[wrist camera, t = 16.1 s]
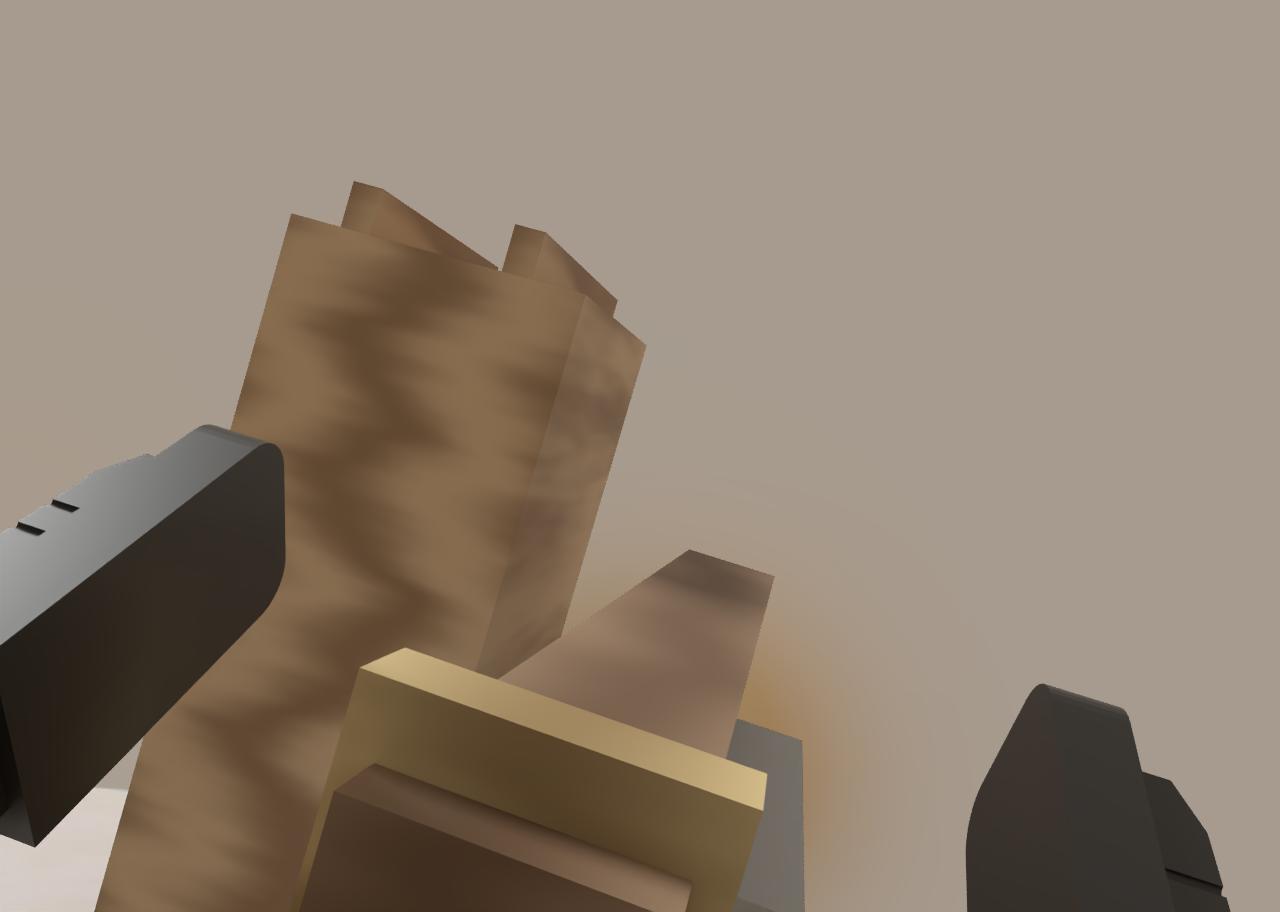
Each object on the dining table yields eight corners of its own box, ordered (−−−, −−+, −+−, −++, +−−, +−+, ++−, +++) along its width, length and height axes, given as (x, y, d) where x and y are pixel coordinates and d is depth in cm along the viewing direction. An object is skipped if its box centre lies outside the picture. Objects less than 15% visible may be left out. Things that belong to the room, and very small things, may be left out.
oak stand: (25, 1155, 32) (304, 167, 31) (233, 971, 44) (440, 251, 43) (297, 1282, 31) (599, 246, 30) (436, 1056, 42) (656, 311, 41)
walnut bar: (193, 1115, 10) (317, 685, 9) (653, 629, 39) (685, 524, 39) (618, 1307, 9) (759, 846, 9) (760, 665, 38) (792, 557, 38)
